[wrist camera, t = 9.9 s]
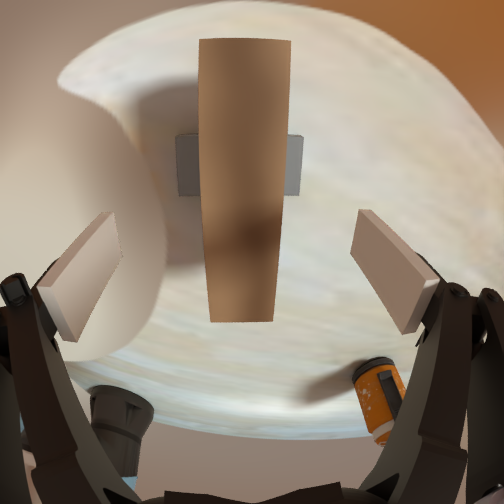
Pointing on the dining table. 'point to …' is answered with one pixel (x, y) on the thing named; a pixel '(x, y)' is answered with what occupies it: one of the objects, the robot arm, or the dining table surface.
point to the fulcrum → (191, 170)
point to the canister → (379, 396)
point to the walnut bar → (242, 171)
